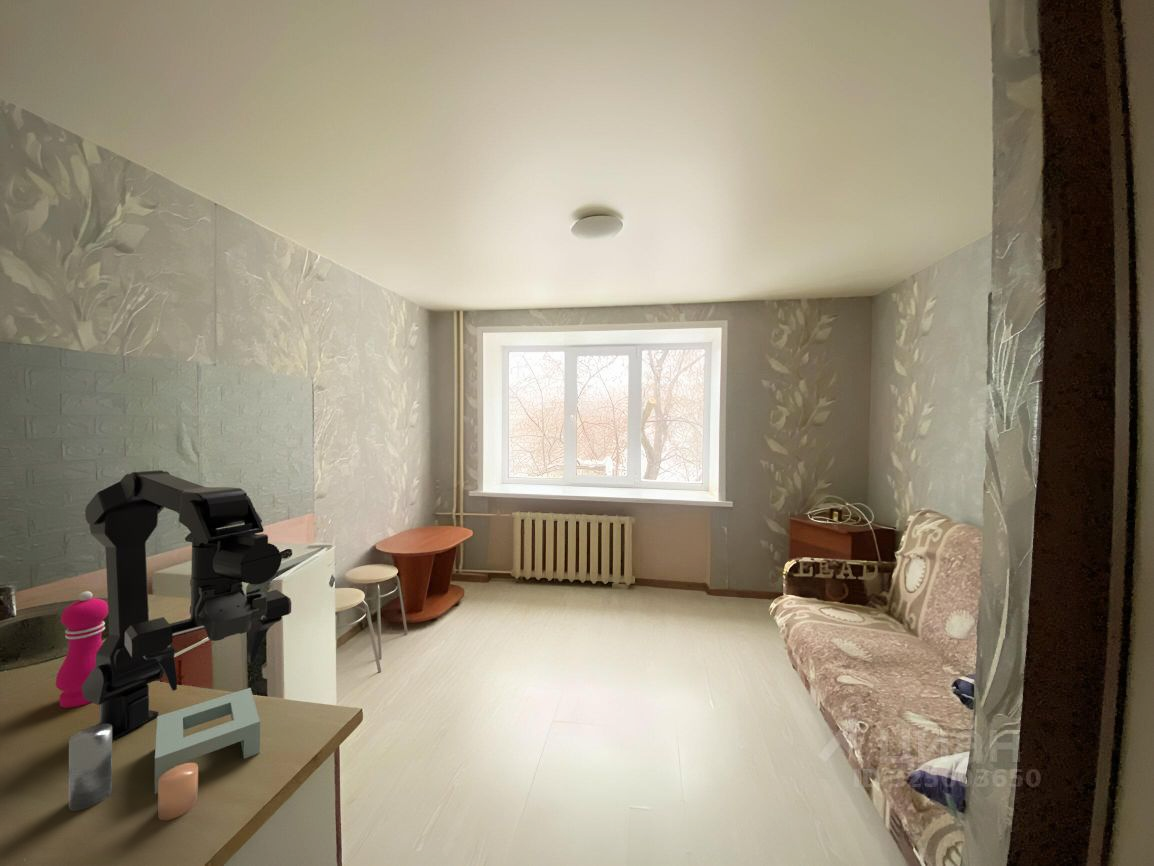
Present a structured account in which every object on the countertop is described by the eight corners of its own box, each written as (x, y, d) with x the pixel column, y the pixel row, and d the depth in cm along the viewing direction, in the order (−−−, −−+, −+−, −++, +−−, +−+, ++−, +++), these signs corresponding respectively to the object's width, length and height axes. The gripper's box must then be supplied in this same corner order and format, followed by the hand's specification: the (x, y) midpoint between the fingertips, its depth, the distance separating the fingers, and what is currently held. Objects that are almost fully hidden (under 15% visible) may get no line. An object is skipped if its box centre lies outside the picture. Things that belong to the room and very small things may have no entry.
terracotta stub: (150, 816, 58) (150, 782, 58) (183, 792, 62) (183, 760, 62) (173, 823, 57) (173, 788, 57) (205, 798, 61) (205, 765, 61)
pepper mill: (74, 712, 79) (74, 600, 79) (44, 706, 80) (44, 597, 80) (123, 689, 86) (123, 586, 86) (94, 684, 87) (95, 583, 87)
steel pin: (60, 807, 59) (61, 740, 59) (99, 784, 63) (99, 721, 63) (81, 813, 58) (82, 746, 58) (119, 789, 62) (119, 726, 62)
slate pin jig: (157, 747, 71) (157, 716, 70) (250, 715, 79) (250, 687, 79) (154, 794, 62) (154, 758, 62) (259, 752, 70) (260, 721, 70)
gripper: (141, 606, 54) (139, 732, 55) (306, 569, 69) (304, 668, 70) (124, 584, 61) (122, 696, 61) (278, 555, 76) (276, 645, 76)
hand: (214, 675), depth 67 cm, fingers open, 9 cm apart
